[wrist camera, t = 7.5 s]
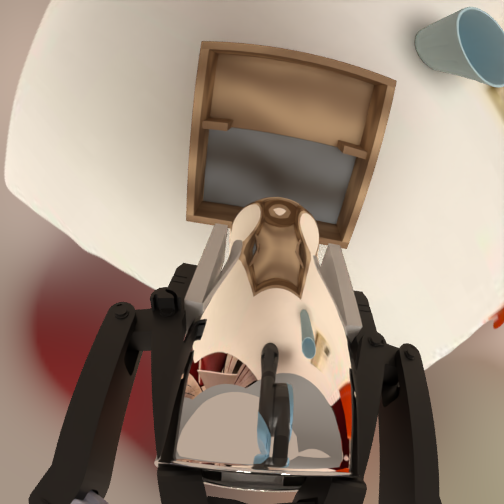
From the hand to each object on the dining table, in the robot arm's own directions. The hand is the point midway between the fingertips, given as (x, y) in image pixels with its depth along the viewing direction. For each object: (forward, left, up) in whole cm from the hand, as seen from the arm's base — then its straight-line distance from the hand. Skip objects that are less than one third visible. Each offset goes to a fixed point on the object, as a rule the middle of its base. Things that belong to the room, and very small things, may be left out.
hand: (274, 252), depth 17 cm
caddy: (-4, 0, -16) cm, 16 cm away
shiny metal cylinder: (0, 0, -2) cm, 2 cm away
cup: (-21, +15, -16) cm, 30 cm away
